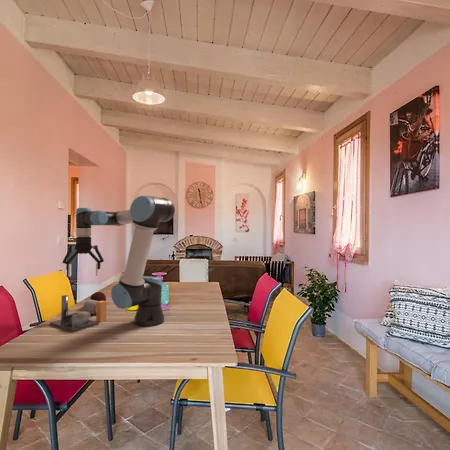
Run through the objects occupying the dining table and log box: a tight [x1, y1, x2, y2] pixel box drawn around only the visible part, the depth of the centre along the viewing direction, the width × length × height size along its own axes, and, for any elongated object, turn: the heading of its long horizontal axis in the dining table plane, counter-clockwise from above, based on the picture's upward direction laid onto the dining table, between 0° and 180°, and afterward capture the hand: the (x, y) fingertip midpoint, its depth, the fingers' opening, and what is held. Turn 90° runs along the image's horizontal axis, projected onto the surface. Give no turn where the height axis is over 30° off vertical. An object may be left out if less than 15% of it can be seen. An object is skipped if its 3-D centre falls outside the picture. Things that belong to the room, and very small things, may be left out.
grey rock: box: [72, 311, 92, 327], centre depth 146 cm, size 6×8×6 cm
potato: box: [89, 291, 107, 301], centre depth 182 cm, size 9×12×9 cm
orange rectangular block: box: [95, 300, 108, 324], centre depth 156 cm, size 3×3×10 cm
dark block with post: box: [49, 294, 99, 333], centre depth 149 cm, size 19×13×13 cm
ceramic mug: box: [82, 298, 98, 316], centre depth 170 cm, size 11×8×8 cm
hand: (83, 275), depth 163 cm, fingers open, 13 cm apart
